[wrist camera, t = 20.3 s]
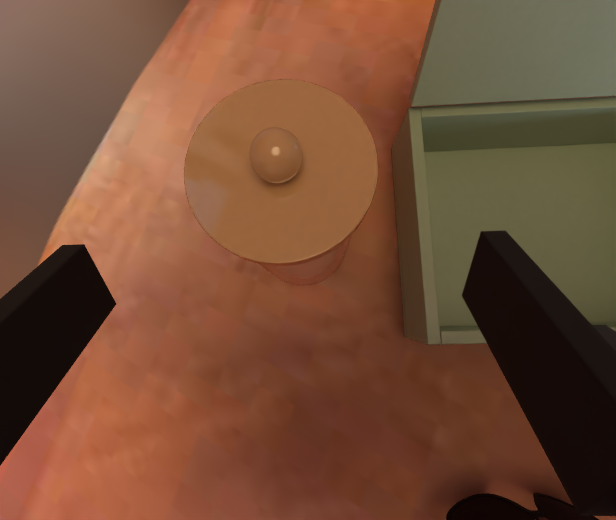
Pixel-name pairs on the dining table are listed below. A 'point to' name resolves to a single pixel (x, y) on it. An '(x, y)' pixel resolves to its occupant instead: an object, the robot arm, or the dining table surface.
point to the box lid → (517, 51)
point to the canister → (282, 177)
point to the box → (504, 204)
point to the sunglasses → (512, 509)
